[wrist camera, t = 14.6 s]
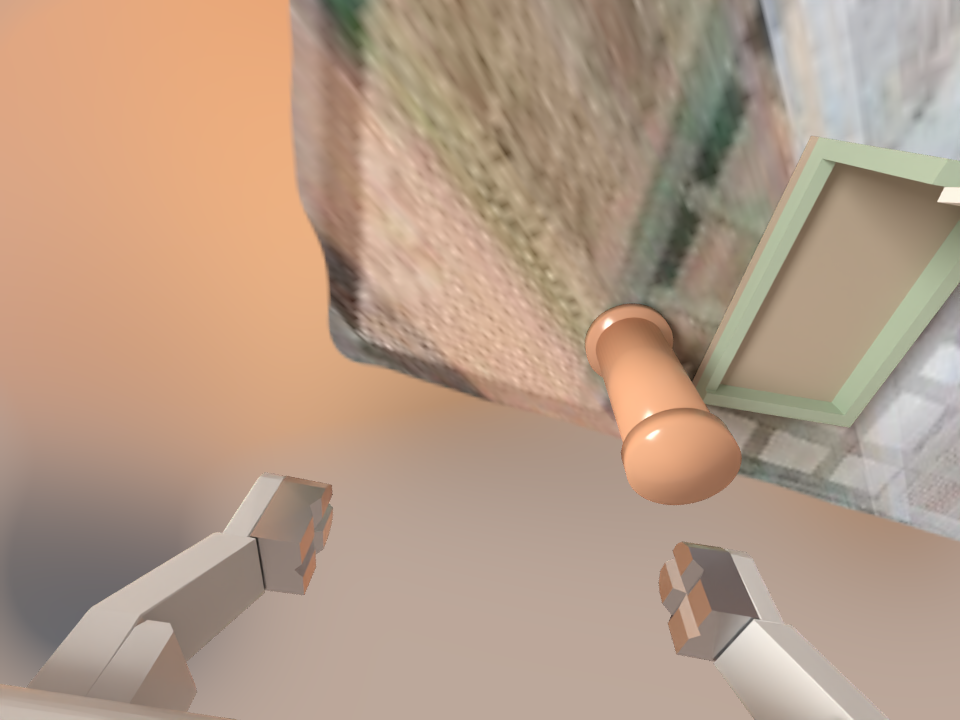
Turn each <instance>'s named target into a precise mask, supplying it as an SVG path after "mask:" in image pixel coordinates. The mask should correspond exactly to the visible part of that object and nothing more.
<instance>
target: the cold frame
mask: <svg viewBox="0 0 960 720" xmlns="http://www.w3.org/2000/svg"><path fill="white" fill-rule="evenodd" d="M944 187H960V161H957V160H951V159H946V158H940V157H934V156H928V155H922V154H916V153H910V152H904V151H898V150H892V149H886V148H880V147H874V146H868V145H862V144H856V143H850V142H845V141H839V140H833V139H827V138H821V137H815V136H811V137H810V139H809V141H808V144H807V146H806V148H805V150H804V152H803V154H802V156H801V158H800V160H799V162H798V164H797V166H796V168H795V170H794V172H793V175H792V177H791V179H790V181H789V183H788V185H787V187H786V189H785V191H784V193H783V195H782V197H781V199H780V201H779V203H778V206H777V208H776V210H775V212H774V214H773V216H772V218H771V220H770V222H769V224H768V226H767V228H766V230H765V232H764V234H763V237H762V239H761V241H760V243H759V245H758V247H757V249H756V251H755V253H754V255H753V257H752V259H751V261H750V263H749V265H748V267H747V270H746V272H745V274H744V276H743V278H742V280H741V282H740V284H739V286H738V288H737V290H736V292H735V294H734V296H733V298H732V301H731V303H730V305H729V307H728V309H727V311H726V313H725V315H724V317H723V319H722V321H721V323H720V325H719V327H718V329H717V332H716V334H715V336H714V338H713V340H712V342H711V344H710V346H709V348H708V350H707V352H706V354H705V356H704V358H703V360H702V363H701V365H700V367H699V369H698V371H697V373H696V375H695V377H694V379H693V381H692V383H693V385H694V386H695V388H696V390H697V391H698V393H699V395H700V396H701V398H702V400H703V401H704V403H705V404H708V405H714V406H720V407H726V408H732V409H739V410H745V411H751V412H757V413H763V414H769V415H775V416H781V417H788V418H794V419H800V420H806V421H812V422H818V423H824V424H830V425H837V426H843V427H849V428H850V427H851V425H852V424H853V423H854V421H855V420H856V419H857V417H858V416H859V415H860V413H861V412H862V411H863V409H864V408H865V407H866V405H867V404H868V403H869V402H870V400H871V399H872V398H873V396H874V395H875V394H876V392H877V391H878V390H879V388H880V387H881V386H882V384H883V383H884V382H885V380H886V379H887V378H888V376H889V375H890V374H891V372H892V371H893V370H894V368H895V367H896V366H897V364H898V363H899V362H900V360H901V359H902V358H903V357H904V355H905V354H906V353H907V351H908V350H909V349H910V347H911V346H912V345H913V343H914V342H915V341H916V339H917V338H918V337H919V335H920V334H921V333H922V331H923V330H924V329H925V327H926V326H927V325H928V323H929V322H930V321H931V319H932V318H933V317H934V315H935V314H936V313H937V312H938V310H939V309H940V308H941V306H942V305H943V304H944V302H945V301H946V300H947V298H948V297H949V296H950V294H951V293H952V292H953V290H954V289H955V288H956V286H957V285H958V284H959V282H960V206H957V205H951V204H945V203H940V202H937V201H938V199H939V197H940V195H941V193H942V191H943V189H944Z"/></svg>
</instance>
